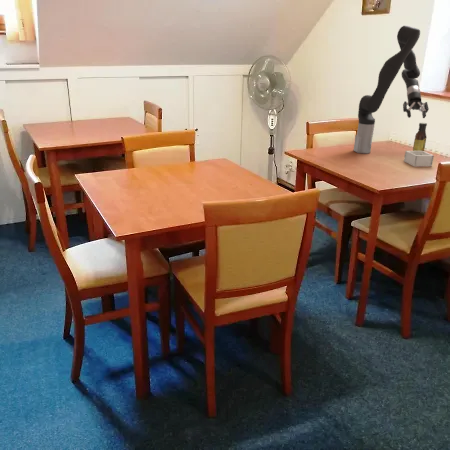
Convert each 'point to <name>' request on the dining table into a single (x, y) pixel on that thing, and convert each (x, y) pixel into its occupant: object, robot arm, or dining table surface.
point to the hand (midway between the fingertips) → (417, 117)
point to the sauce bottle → (420, 138)
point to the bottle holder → (418, 158)
